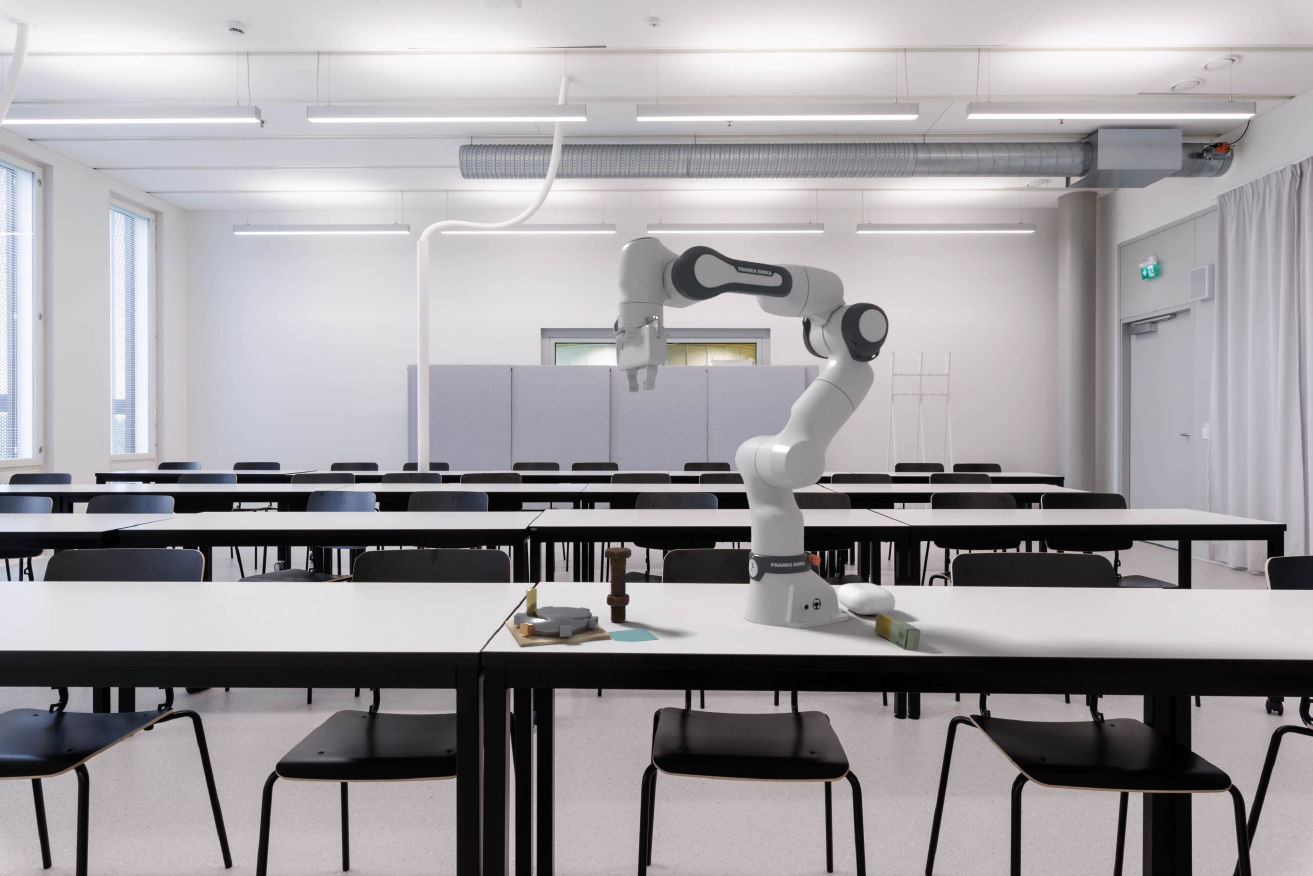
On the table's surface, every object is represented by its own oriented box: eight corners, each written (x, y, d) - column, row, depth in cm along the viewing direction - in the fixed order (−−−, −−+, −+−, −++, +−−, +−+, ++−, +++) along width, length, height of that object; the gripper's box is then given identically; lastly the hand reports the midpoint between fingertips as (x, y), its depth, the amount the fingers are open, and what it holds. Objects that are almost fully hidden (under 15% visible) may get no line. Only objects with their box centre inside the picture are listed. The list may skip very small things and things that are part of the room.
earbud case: (874, 602, 169) (874, 579, 169) (901, 617, 156) (901, 592, 156) (832, 604, 168) (832, 580, 168) (855, 619, 155) (855, 593, 155)
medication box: (919, 651, 133) (921, 629, 132) (905, 651, 132) (908, 629, 132) (886, 632, 144) (888, 612, 144) (873, 631, 144) (876, 611, 144)
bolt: (627, 625, 149) (627, 551, 149) (603, 624, 150) (603, 551, 150) (632, 618, 155) (632, 547, 155) (609, 617, 156) (609, 546, 155)
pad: (644, 629, 146) (644, 628, 146) (658, 640, 139) (658, 639, 138) (606, 633, 143) (606, 632, 143) (618, 645, 136) (618, 643, 136)
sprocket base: (586, 618, 155) (586, 613, 155) (610, 640, 139) (610, 635, 139) (505, 626, 149) (505, 621, 149) (520, 649, 133) (520, 644, 133)
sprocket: (605, 617, 150) (605, 583, 150) (586, 638, 135) (586, 600, 135) (529, 614, 153) (529, 580, 153) (501, 634, 138) (501, 597, 137)
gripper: (675, 314, 136) (675, 388, 136) (639, 328, 155) (639, 393, 156) (643, 312, 134) (643, 388, 134) (610, 326, 153) (610, 393, 153)
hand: (641, 391), depth 145 cm, fingers open, 8 cm apart
